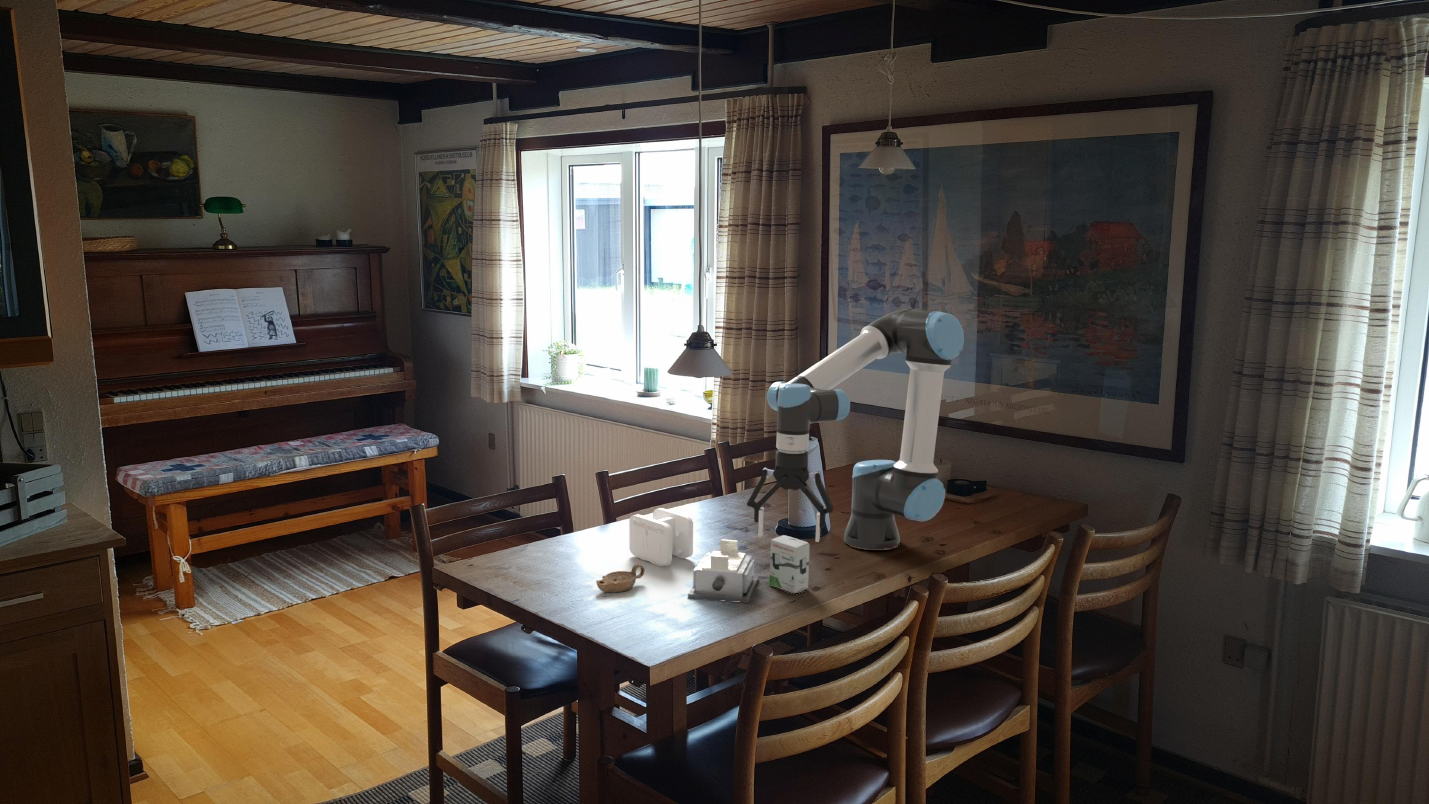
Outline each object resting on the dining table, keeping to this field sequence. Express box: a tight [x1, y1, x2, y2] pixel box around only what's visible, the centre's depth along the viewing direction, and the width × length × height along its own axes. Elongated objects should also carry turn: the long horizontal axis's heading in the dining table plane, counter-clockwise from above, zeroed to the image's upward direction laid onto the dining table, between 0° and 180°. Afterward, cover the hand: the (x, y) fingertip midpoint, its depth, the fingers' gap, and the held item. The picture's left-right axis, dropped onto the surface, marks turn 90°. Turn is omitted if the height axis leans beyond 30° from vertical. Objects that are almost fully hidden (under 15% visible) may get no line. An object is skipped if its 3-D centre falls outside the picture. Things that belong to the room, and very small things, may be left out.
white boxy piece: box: [687, 538, 759, 603], centre depth 233 cm, size 14×16×10 cm
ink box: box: [768, 534, 811, 593], centre depth 234 cm, size 9×5×12 cm, turn 44°
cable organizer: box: [628, 507, 694, 567], centre depth 254 cm, size 15×11×12 cm
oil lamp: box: [595, 563, 646, 593], centre depth 233 cm, size 13×8×5 cm, turn 126°
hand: (788, 538), depth 233 cm, fingers open, 13 cm apart
